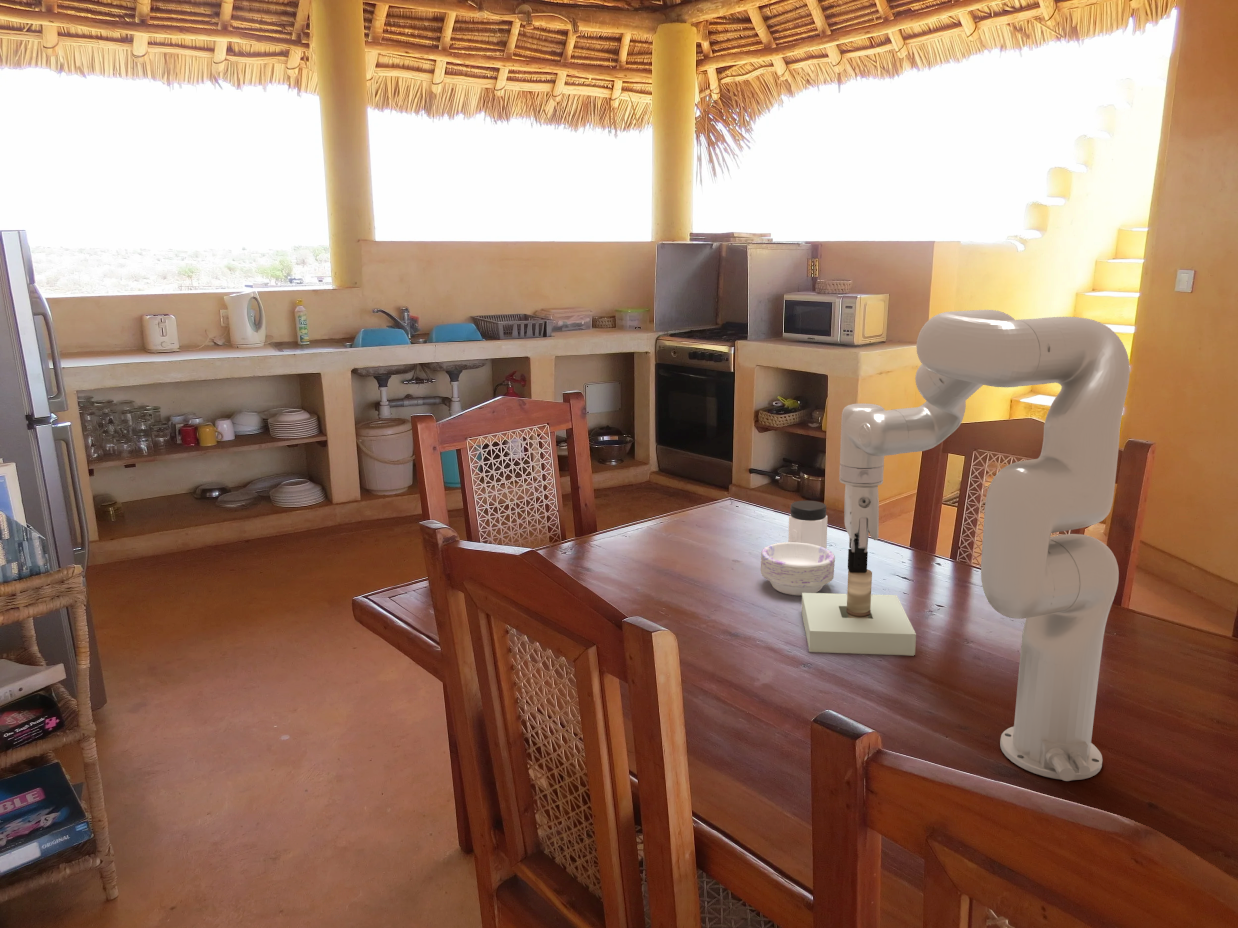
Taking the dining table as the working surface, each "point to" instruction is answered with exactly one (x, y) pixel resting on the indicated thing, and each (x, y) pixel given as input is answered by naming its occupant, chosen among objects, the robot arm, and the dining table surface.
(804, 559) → the paper bowls
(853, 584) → the peg
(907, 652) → the board
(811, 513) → the jar
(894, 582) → the dining table surface
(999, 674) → the dining table surface
